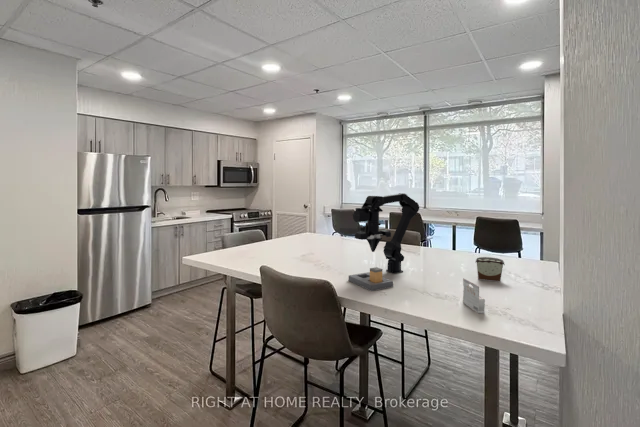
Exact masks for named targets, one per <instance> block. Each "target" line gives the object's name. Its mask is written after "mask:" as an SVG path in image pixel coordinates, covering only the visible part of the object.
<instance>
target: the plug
mask: <svg viewBox="0 0 640 427" xmlns="http://www.w3.org/2000/svg"><path fill="white" fill-rule="evenodd" d="M369 272H370V281H371V282H373V283H379V282H382V277H383V268H380V267H377V266H376V267H370V268H369Z"/></svg>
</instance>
